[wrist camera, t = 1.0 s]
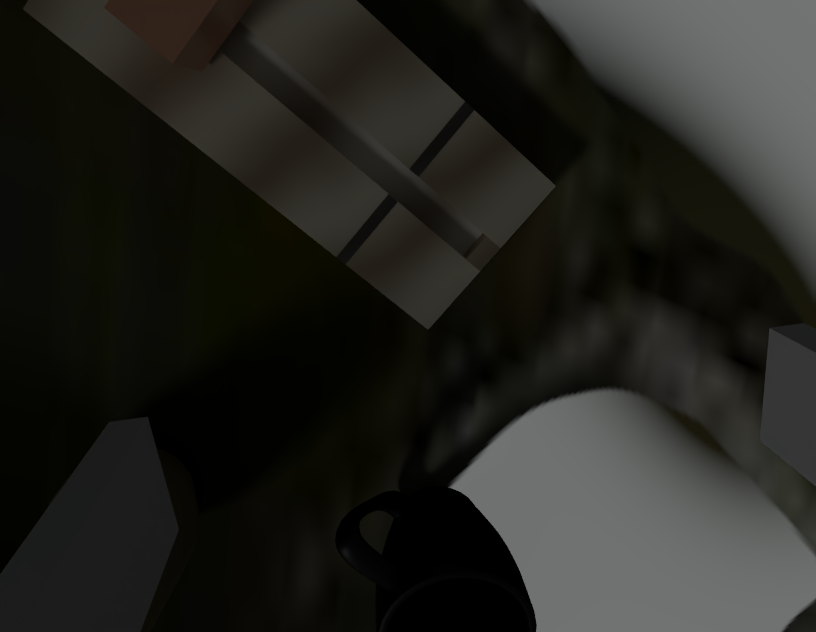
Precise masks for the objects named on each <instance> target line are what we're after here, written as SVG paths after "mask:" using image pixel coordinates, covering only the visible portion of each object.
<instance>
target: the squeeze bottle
mask: <svg viewBox="0 0 816 632" xmlns="http://www.w3.org/2000/svg"><path fill="white" fill-rule="evenodd" d="M157 452H158V456H159V459H160V463H161V466H162V470H163V474H164V477H165V481H166V485H167V488H168V492H169V495H170V499H171V503H172V506H173V510H174V513H175V517H176V521H177V524H178V528H179V531H178V533H177V536H176V538H175V541H174V544H173V546H172V549H171V552H170V554H169V557H168V560H167V562H166V565H165V568H164V570H163V573H162V576H161V578H160V581H159V584H158V586H157V589H156V592H155V594H154V597H153V600H152V602H151V605H150V608H149V610H148V613H147V616H146V618H145V621H144V624H143V626H142V629H141V632H150V631H151V630H152V628H153V626H154V624H155V622H156V620H157V618H158V617H159V615H160V613H161V611H162V609H163V607H164V606H165V604H166V602H167V600H168V598H169V596H170V594H171V593H172V591H173V589H174V587H175V585H176V583H177V581H178V580H179V578H180V576H181V574H182V572H183V570H184V569H185V567H186V565H187V563H188V561H189V559H190V557H191V556H192V554H193V552H194V550H195V548H196V544H197V539H198V534H199V530H200V518H199V512H198V505H197V499H196V492H195V488H194V484H193V480H192V476H191V473H190V472H189V471H188V470H187V468H186V467H185V466H184V465H183V463H182V462H181V461H180V460H179V459H178V458H176V457H174V456H173V455H171V454H169V453H168V452H166V451H164V450H162V449H157ZM69 478H70V476H69V477H68V478H67V479H66V481H65V482H64V483H63V485H62V486H61V488H60V489H59V490H58V492H57V493H56V495H55V496H54V497H53V499H52V501H53V500H54V499H55V497H56V496H57V494H58V493H59V492H60V490H61V489H62V487H63V486H64V485H65V483H66V482H67V480H68V479H69ZM52 501H51V502H50V504H51V503H52ZM50 504H49V506H50ZM49 506H48V507H49ZM46 510H47V509H46Z"/></svg>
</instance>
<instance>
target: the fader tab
mask: <svg viewBox="0 0 816 632" xmlns="http://www.w3.org/2000/svg"><path fill="white" fill-rule="evenodd" d="M253 1H254V0H109V1H108V2H107V4H106V5H105V7H104V8H105V9H106V10H107V11H108V12H110V13H111V14H112V15H113V16H115V17H116V18H117V19H118V20H119V21H121V22H122V23H123V24H124V25H126V26H127V27H128V28H129V29H130V30H132V31H133V32H134V33H135V34H136V35H138V36H139V37H140V38H141V39H143V40H144V41H145V42H146V43H147V44H149V45H150V46H151V47H152V48H154V49H155V50H156V51H157V52H158V53H160V54H161V55H162V56H163V57H165V58H166V59H167V60H168V61H169V62H171V63H172V64H174V65H178V66H182V67H186V68H190V69H194V70H198V71H203V70H204V68H205V67H206V66H207V64H208V63H209V61H210V60H211V59H212V57H213V56H214V55H215V53H216V52H217V50H218V49H219V48H220V46H221V45H222V43H223V42H224V41H225V39H226V38H227V37H228V35H229V34H230V32H231V31H232V30H233V28H234V27H235V25H236V24H237V23H238V21H239V20H240V19H241V17H242V16H243V14H244V13H245V12H246V10H247V9H248V8H249V6H250V5H251V3H252V2H253Z"/></svg>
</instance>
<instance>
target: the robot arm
mask: <svg viewBox="0 0 816 632" xmlns="http://www.w3.org/2000/svg"><path fill="white" fill-rule="evenodd" d="M760 441H761V442H762V443H764V444H765V445H766V446H767V447H768V448H770V449H771V450H772V451H773V452H775V453H776V454H777V455H778V456H779V457H781V458H782V459H783V460H784V461H786V462H787V463H788V464H789V465H790V466H792V467H793V468H794V469H795V470H797V471H798V472H799V473H800V474H801V475H803V476H804V477H805V478H806V479H808V480H809V481H810V482H811V483H812V484H814V485H815V486H816V329H815V328H813V327H810V326H808V325H806V324H804V323H802V324H795V325H788V326H781V327H774V328H770V330H769V342H768V353H767V365H766V376H765V388H764V400H763V411H762V423H761V435H760ZM178 531H179V528H178V524H177V521H176V517H175V513H174V510H173V506H172V503H171V499H170V495H169V492H168V488H167V485H166V481H165V477H164V474H163V470H162V466H161V463H160V459H159V456H158V452H157V448H156V445H155V441H154V438H153V434H152V430H151V427H150V423H149V419H148V417H142V418H135V419H128V420H121V421H114V422H109V423H108V425H107V426H106V427H105V429H104V430H103V432H102V433H101V434H100V436H99V437H98V439H97V440H96V441H95V443H94V444H93V445H92V447H91V448H90V450H89V451H88V452H87V454H86V455H85V457H84V458H83V459H82V461H81V462H80V464H79V465H78V466H77V468H76V469H75V471H74V472H73V473H72V475H71V476H70V478H69V479H68V480H67V482H66V483H65V485H64V486H63V487H62V489H61V490H60V492H59V493H58V494H57V496H56V497H55V499H54V500H53V501H52V503H51V504H50V506H49V507H48V508H47V510H46V511H45V513H44V514H43V515H42V517H41V518H40V520H39V521H38V522H37V524H36V525H35V527H34V528H33V529H32V531H31V532H30V534H29V535H28V536H27V538H26V539H25V541H24V542H23V543H22V545H21V546H20V548H19V549H18V550H17V552H16V553H15V555H14V556H13V557H12V559H11V560H10V561H9V563H8V564H7V566H6V567H5V568H4V570H3V571H2V573H1V574H0V632H141V629H142V626H143V624H144V621H145V618H146V616H147V613H148V610H149V608H150V605H151V602H152V600H153V597H154V594H155V592H156V589H157V586H158V584H159V581H160V578H161V576H162V573H163V570H164V568H165V565H166V562H167V560H168V557H169V554H170V552H171V549H172V546H173V544H174V541H175V538H176V536H177V533H178Z"/></svg>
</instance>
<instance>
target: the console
mask: <svg viewBox="0 0 816 632" xmlns="http://www.w3.org/2000/svg"><path fill="white" fill-rule="evenodd" d="M108 1H109V0H28V2H27V3H26V5H25V6H24V8H23V10H25V11H26V12H27V13H28V14H30V15H31V16H32V17H34V18H35V19H36V20H37V21H39V22H40V23H41V24H42V25H44V26H45V27H46V28H47V29H49V30H50V31H51V32H52V33H54V34H55V35H56V36H58V37H59V38H60V39H61V40H63V41H64V42H65V43H66V44H68V45H69V46H70V47H71V48H73V49H74V50H75V51H76V52H78V53H79V54H80V55H82V56H83V57H84V58H85V59H87V60H88V61H89V62H90V63H92V64H93V65H94V66H95V67H97V68H98V69H99V70H100V71H102V72H103V73H104V74H106V75H107V76H108V77H109V78H111V79H112V80H113V81H114V82H116V83H117V84H118V85H119V86H121V87H122V88H123V89H125V90H126V91H127V92H128V93H130V94H131V95H132V96H133V97H135V98H136V99H137V100H138V101H140V102H141V103H142V104H143V105H145V106H146V107H147V108H149V109H150V110H151V111H152V112H154V113H155V114H156V115H157V116H159V117H160V118H161V119H162V120H164V121H165V122H166V123H167V124H169V125H170V126H171V127H173V128H174V129H175V130H176V131H178V132H179V133H180V134H181V135H183V136H184V137H185V138H186V139H188V140H189V141H190V142H191V143H193V144H194V145H195V146H197V147H198V148H199V149H200V150H202V151H203V152H204V153H205V154H207V155H208V156H209V157H210V158H212V159H213V160H214V161H216V162H217V163H218V164H219V165H221V166H222V167H223V168H224V169H226V170H227V171H228V172H229V173H231V174H232V175H233V176H234V177H236V178H237V179H238V180H240V181H241V182H242V183H243V184H245V185H246V186H247V187H248V188H250V189H251V190H252V191H253V192H255V193H256V194H257V195H258V196H260V197H261V198H262V199H264V200H265V201H266V202H267V203H269V204H270V205H271V206H272V207H274V208H275V209H276V210H277V211H279V212H280V213H281V214H282V215H284V216H285V217H286V218H288V219H289V220H290V221H291V222H293V223H294V224H295V225H296V226H298V227H299V228H300V229H301V230H303V231H304V232H305V233H306V234H308V235H309V236H310V237H312V238H313V239H314V240H315V241H317V242H318V243H319V244H320V245H322V246H323V247H324V248H325V249H327V250H328V251H329V252H331V253H332V254H333V255H334V256H336V258H338V259H339V260H340V261H342V262H343V263H344V264H345V265H347V266H348V267H349V268H351V269H352V270H353V271H355V272H356V273H357V274H358V275H360V276H361V277H362V278H363V279H365V280H366V281H367V282H368V283H370V284H371V285H372V286H373V287H375V288H376V289H377V290H379V291H380V292H381V293H382V294H384V295H385V296H386V297H387V298H389V299H390V300H391V301H392V302H394V303H395V304H396V305H397V306H399V307H400V308H401V309H403V310H404V311H405V312H406V313H408V314H409V315H410V316H411V317H413V318H414V319H415V320H416V321H418V322H419V323H420V324H422V325H423V326H424V327H425V328H427V329H429V328H430V327H431V326H432V325H433V324H434V323H435V321H436V320H437V319H438V318H439V317H440V316H441V315H442V314H443V312H444V311H445V310H446V309H447V308H448V307H449V306H450V305H451V303H452V302H453V301H454V300H455V299H456V298H457V297H458V296H459V294H460V293H461V292H462V291H463V290H464V289H465V288H466V287H467V285H468V284H469V283H470V282H471V281H472V280H473V279H474V277H475V276H476V275H477V274H478V273H479V272H480V271H481V270H482V268H483V267H484V266H485V265H486V264H487V263H488V262H489V261H490V259H491V258H492V257H493V256H494V255H495V254H496V253H497V252H498V250H499V249H500V248H501V247H502V246H503V245H504V244H505V243H506V241H507V240H508V239H509V238H510V237H511V236H512V235H513V234H514V232H515V231H516V230H517V229H518V228H519V227H520V226H521V225H522V223H523V222H524V221H525V220H526V219H527V218H528V217H529V216H530V214H531V213H532V212H533V211H534V210H535V209H536V208H537V207H538V205H539V204H540V203H541V202H542V201H543V200H544V199H545V198H546V196H547V195H548V194H549V193H550V192H551V191H552V190H553V189H554V187H555V185H554V184H553V183H552V182H551V181H550V180H549V179H548V178H547V177H546V176H545V175H544V174H542V173H541V172H540V171H539V170H538V169H537V168H536V167H535V166H534V165H533V164H532V163H531V162H530V161H529V160H527V159H526V158H525V157H524V156H523V155H522V154H521V153H520V152H519V151H518V150H517V149H516V148H515V147H513V146H512V145H511V144H510V143H509V142H508V141H507V140H506V139H505V138H504V137H503V136H502V135H501V134H500V133H498V132H497V131H496V130H495V129H494V128H493V127H492V126H491V125H490V124H489V123H488V122H487V121H486V120H484V119H483V118H482V117H481V116H480V115H479V114H478V113H477V112H476V111H475V110H474V109H473V108H472V107H471V106H470V105H469V104H468V103H466V102H465V101H464V100H463V99H462V98H461V97H460V96H459V95H458V94H457V93H456V92H454V91H453V90H452V89H451V88H450V87H449V86H448V85H447V84H446V83H445V82H444V81H443V80H442V79H440V78H439V77H438V76H437V75H436V74H435V73H434V72H433V71H432V70H431V69H430V68H429V67H428V66H427V65H425V64H424V63H423V62H422V61H421V60H420V59H419V58H418V57H417V56H416V55H415V54H414V53H413V52H411V51H410V50H409V49H408V48H407V47H406V46H405V45H404V44H403V43H402V42H401V41H400V40H399V39H398V38H396V37H395V36H394V35H393V34H392V33H391V32H390V31H389V30H388V29H387V28H386V27H385V26H384V25H383V24H381V23H380V22H379V21H378V20H377V19H376V18H375V17H374V16H373V15H372V14H371V13H370V12H369V11H367V10H366V9H365V8H364V7H363V6H362V5H361V4H360V3H359V2H358V1H357V0H254V1H253V2H252V3H251V5H250V6H249V8H248V9H247V10H246V12H245V13H244V14H243V16H242V17H241V19H240V20H239V21H238V23H237V24H236V25H235V27H234V28H233V30H232V31H231V32H230V34H229V35H228V37H227V38H226V39H225V41H224V42H223V43H222V45H221V46H220V48H219V49H218V50H217V52H216V53H215V55H214V56H213V57H212V59H211V60H210V61H209V63H208V64H207V66H206V67H205V68H204V70H203V71H198V70H194V69H190V68H186V67H182V66H178V65H174V64H172V63H171V62H169V61H168V60H167V59H166V58H165V57H163V56H162V55H161V54H160V53H158V52H157V51H156V50H155V49H154V48H152V47H151V46H150V45H149V44H147V43H146V42H145V41H144V40H143V39H141V38H140V37H139V36H138V35H136V34H135V33H134V32H133V31H132V30H130V29H129V28H128V27H127V26H126V25H124V24H123V23H122V22H121V21H119V20H118V19H117V18H116V17H115V16H113V15H112V14H111V13H110V12H108V11H107V10H106V9H105V8H104V7H105V5H106V4H107V2H108Z"/></svg>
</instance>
